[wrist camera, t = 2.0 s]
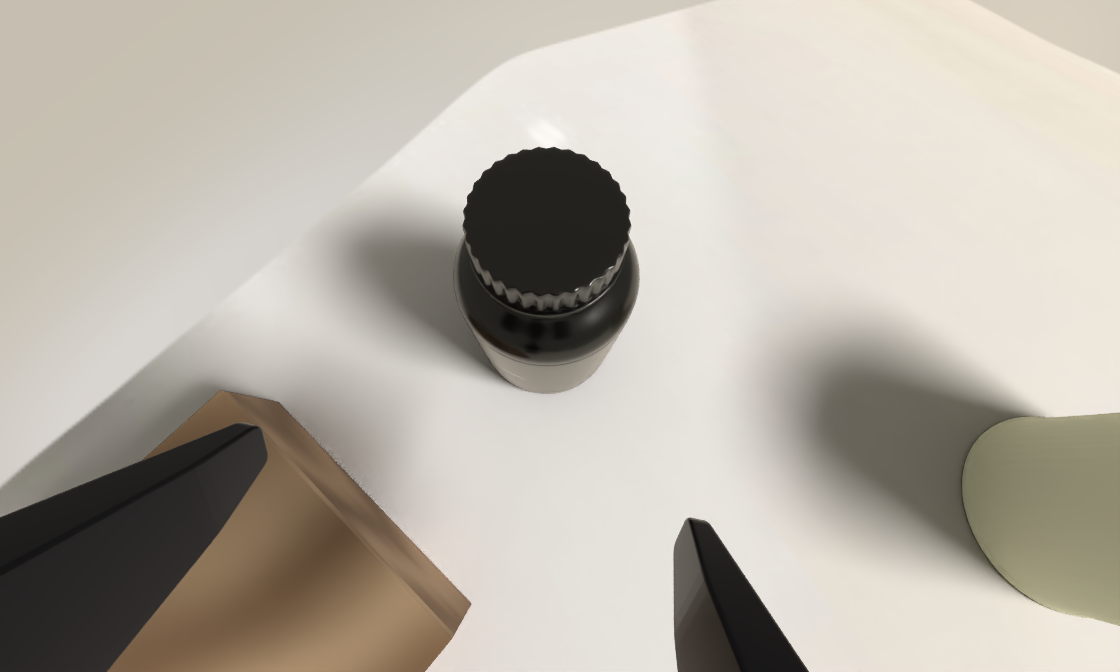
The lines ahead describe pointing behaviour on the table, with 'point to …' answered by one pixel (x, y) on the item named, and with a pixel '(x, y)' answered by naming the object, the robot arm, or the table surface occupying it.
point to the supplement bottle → (546, 267)
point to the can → (1051, 509)
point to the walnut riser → (297, 572)
